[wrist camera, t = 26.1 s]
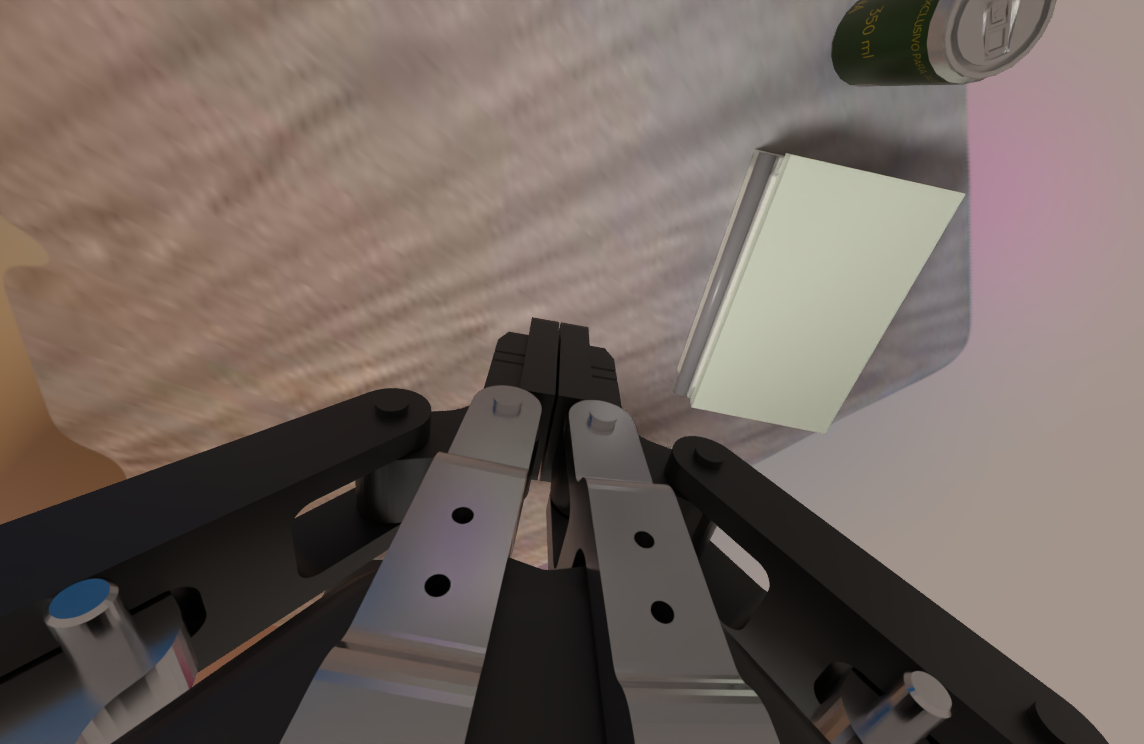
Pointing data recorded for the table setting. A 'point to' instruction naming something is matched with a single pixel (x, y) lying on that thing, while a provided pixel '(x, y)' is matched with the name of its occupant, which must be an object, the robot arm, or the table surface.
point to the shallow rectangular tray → (727, 267)
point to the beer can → (935, 40)
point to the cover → (818, 290)
